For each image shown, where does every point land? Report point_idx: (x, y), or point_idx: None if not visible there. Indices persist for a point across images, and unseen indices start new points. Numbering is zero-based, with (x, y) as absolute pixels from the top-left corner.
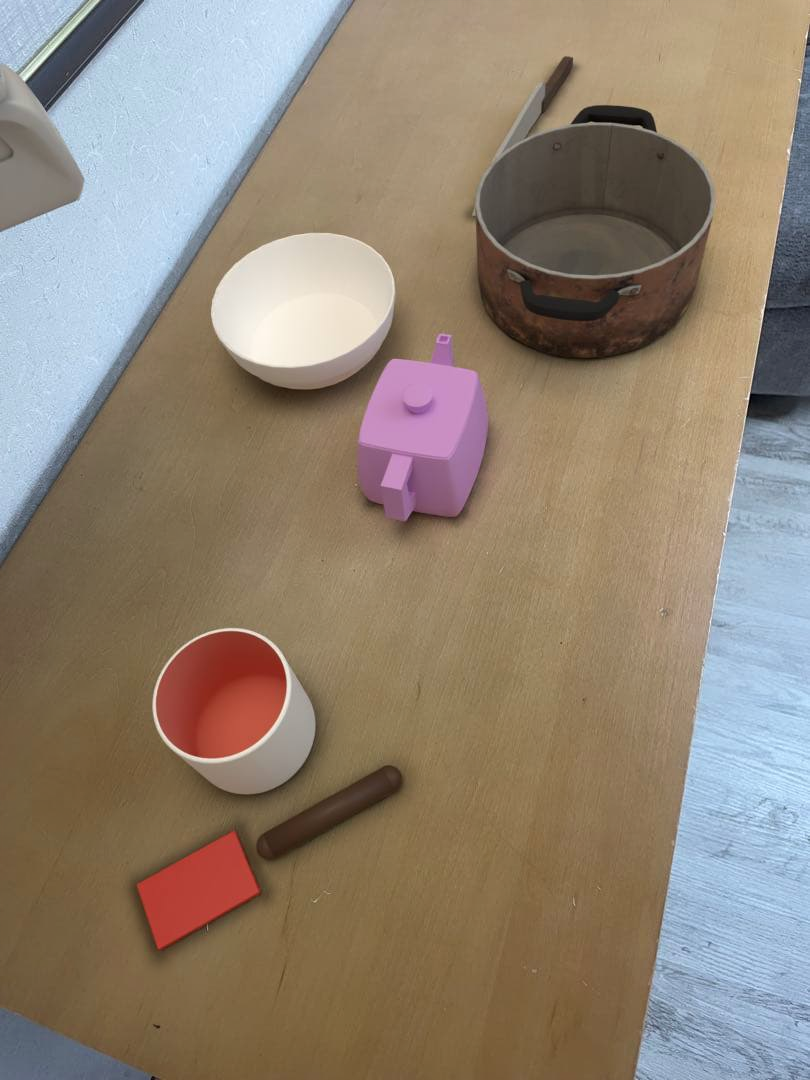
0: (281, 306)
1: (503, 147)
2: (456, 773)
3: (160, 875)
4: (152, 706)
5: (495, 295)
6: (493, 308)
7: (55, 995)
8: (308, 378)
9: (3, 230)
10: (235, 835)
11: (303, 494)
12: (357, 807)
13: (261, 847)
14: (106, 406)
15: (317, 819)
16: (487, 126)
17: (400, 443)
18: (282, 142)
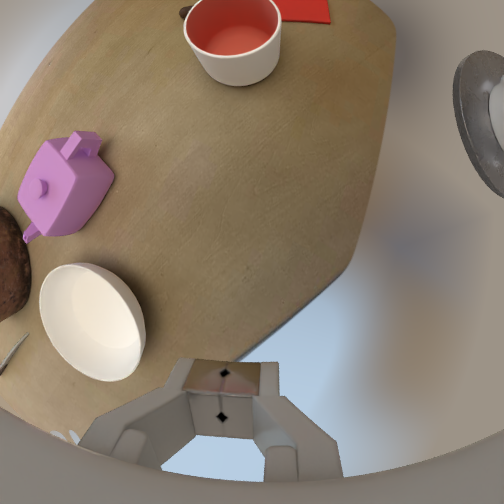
0: (117, 347)
1: (9, 352)
2: (158, 12)
3: (317, 19)
4: (279, 29)
5: (13, 263)
6: (22, 263)
7: (376, 12)
8: (100, 268)
9: (1, 408)
10: None
11: (147, 201)
12: None
13: None
14: (248, 347)
15: None
16: (23, 373)
17: (59, 163)
18: None
